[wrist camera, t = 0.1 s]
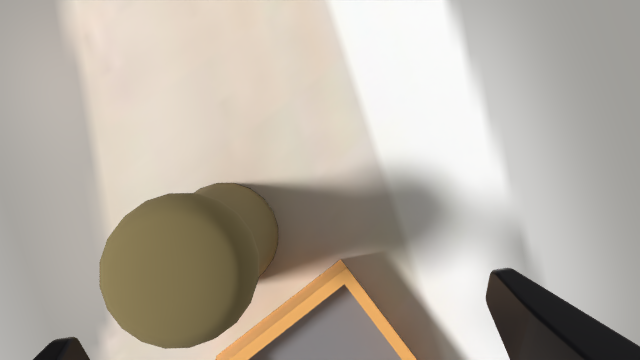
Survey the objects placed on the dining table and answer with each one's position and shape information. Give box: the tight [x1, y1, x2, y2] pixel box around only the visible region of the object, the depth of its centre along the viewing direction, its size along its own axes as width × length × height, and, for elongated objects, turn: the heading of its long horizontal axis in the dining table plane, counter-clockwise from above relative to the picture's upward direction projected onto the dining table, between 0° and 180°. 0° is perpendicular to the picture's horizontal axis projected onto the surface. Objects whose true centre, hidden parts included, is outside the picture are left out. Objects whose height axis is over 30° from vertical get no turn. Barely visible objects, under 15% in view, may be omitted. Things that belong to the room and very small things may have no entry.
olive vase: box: [100, 183, 278, 348], centre depth 18 cm, size 6×6×11 cm
